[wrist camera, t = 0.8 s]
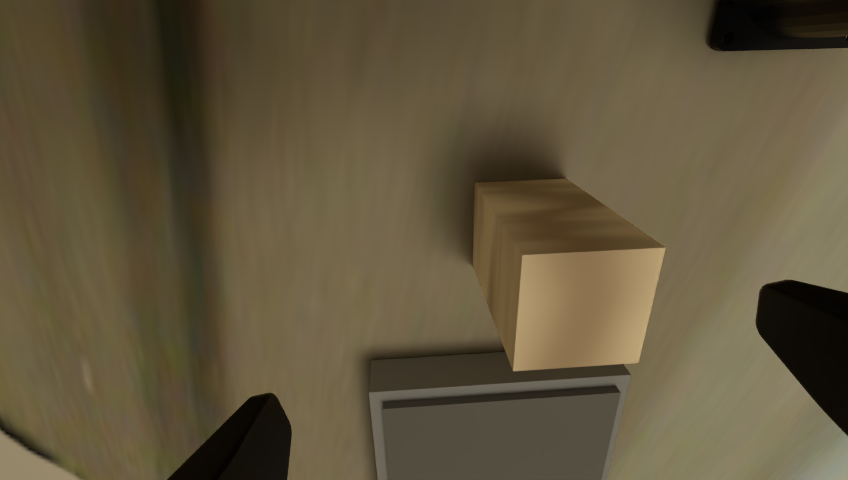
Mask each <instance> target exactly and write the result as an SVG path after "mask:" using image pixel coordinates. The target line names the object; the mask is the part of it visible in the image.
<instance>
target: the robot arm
mask: <svg viewBox="0 0 848 480" xmlns="http://www.w3.org/2000/svg"><path fill="white" fill-rule="evenodd" d="M725 33H726V34H727V40H726V42H725V43H723V42H722V38H723V36H724V34H725ZM846 36H847V38H846ZM710 45H711V48H712V49H713V50H715V51H747V50H784V49H821V48H848V0H719V3H718V7H717V12H716V16H715V20H714V25H713V29H712V33H711V38H710ZM756 327H757V330H758V332H759V334H760V335H761V337H762V338H763V339H764V340H765V342H766V343H767V344H768V345H769V346H770V348H771V349H772V350H773V351H774V352H775V354H776V355H777V356H778V357H779V358H780V360H781V361H782V362H783V363H784V364H785V366H786V367H787V368H788V369H789V370H790V372H791V373H792V374H793V375H794V376H795V378H796V379H797V380H798V381H799V382H800V384H801V385H802V386H803V387H804V388H805V390H806V391H807V392H808V393H809V395H810V396H811V397H812V398H813V399H814V400H815V402H816V403H817V404H818V405H819V406H820V407H821V408H822V410H823V411H824V412H825V413H826V414H827V415H828V416H829V417H830V418H831V419H832V420H833V421H834V422H835V423H836V424H837V425H838V426H839V427H840V428H841V430H842V431H843V432H844V433H845V434H846V435H847V436H848V293H846V292H842V291H838V290H833V289H829V288H825V287H820V286H816V285H812V284H807V283H803V282H799V281H795V280H783V281H778V282H773V283H769V284H766V285H764V286H763V287H762V288H761V289H760V292H759V299H758V307H757V314H756ZM291 436H292V430H291V425H290V422H289V420H288V418H287V416H286V414H285V412H284V410H283V408H282V406H281V404H280V402H279V400H278V398H277V397H276V395H274V394H273V393H265V394H261V395H256V396H253V397H250V398H249V399H248V400H247V401H246V402H245V403H244V404H243V405H242V406H241V407H240V408H239V409H238V410H237V411H236V412H235V413H234V414H233V415H232V416H231V417H230V418H229V419H228V420H227V421H226V422H225V423H224V424H223V425H222V426H221V427H220V428H219V429H218V430H217V431H216V432H215V433H214V434H213V435H212V436H211V437H210V438H209V439H208V440H207V441H206V442H205V443H204V444H203V445H201V446H200V447H199V448H198V449H197V450H196V451H195V452H194V453H193V454H192V455H191V456H190V457H189V458H188V459H187V460H186V461H185V462H184V463H183V464H182V465H181V466H180V467H179V468H178V469H177V470H176V471H175V472H174V473H173V474H172V475H171V476H170V477H169V478H168V479H167V480H287V476H288V466H289V456H290V446H291Z"/></svg>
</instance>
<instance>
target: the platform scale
mask: <svg viewBox="0 0 848 480" xmlns="http://www.w3.org/2000/svg"><path fill="white" fill-rule="evenodd" d="M630 377H631V374H630V373H629V371H628V370H627V369H626V367H625V366H624V365H623V364H614V365H600V366H585V367H570V368H555V369H540V370H525V371H513V370H512V367H511V365H510V362H509V359H508V357H507V354H506V352H493V353H478V354H462V355H446V356H431V357H415V358H399V359H384V360H371V370H370V383H369V400H370V409H371V419H372V429H373V439H374V448H375V458H376V468H377V477H378V480H607V477H608V473H609V469H610V464H611V460H612V455H613V451H614V447H615V442H616V438H617V434H618V429H619V425H620V421H621V416H622V412H623V408H624V403H625V399H626V394H627V390H628V386H629V381H630Z"/></svg>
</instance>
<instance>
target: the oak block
mask: <svg viewBox="0 0 848 480" xmlns="http://www.w3.org/2000/svg"><path fill="white" fill-rule="evenodd" d="M664 253H665V247H664V246H663V245H661V244H660V243H658V242H657V241H655V240H654V239H652V238H651V237H650V236H648V235H647V234H645V233H644V232H642V231H641V230H640V229H638V228H637V227H635V226H634V225H632V224H631V223H629V222H628V221H627V220H625V219H624V218H622V217H621V216H619V215H618V214H616V213H615V212H614V211H612V210H611V209H609V208H608V207H606V206H605V205H604V204H602V203H601V202H599V201H598V200H596V199H595V198H593V197H592V196H591V195H589V194H588V193H586V192H585V191H583V190H582V189H580V188H579V187H578V186H576V185H575V184H573V183H572V182H570V181H569V180H568V179H548V180H524V181H501V182H478V183H475V196H474V233H473V268H474V270H475V273H476V276H477V278H478V281H479V284H480V286H481V289H482V291H483V294H484V297H485V299H486V302H487V304H488V307H489V310H490V312H491V315H492V318H493V320H494V323H495V325H496V328H497V331H498V333H499V336H500V338H501V341H502V344H503V346H504V349H505V352H506V354H507V357H508V359H509V362H510V365H511V367H512V370H513V371H525V370H540V369H555V368H570V367H585V366H600V365H614V364H629V363H639V358H640V354H641V350H642V346H643V341H644V337H645V333H646V329H647V325H648V320H649V316H650V312H651V308H652V303H653V299H654V295H655V291H656V286H657V282H658V278H659V274H660V269H661V265H662V261H663V257H664Z"/></svg>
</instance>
